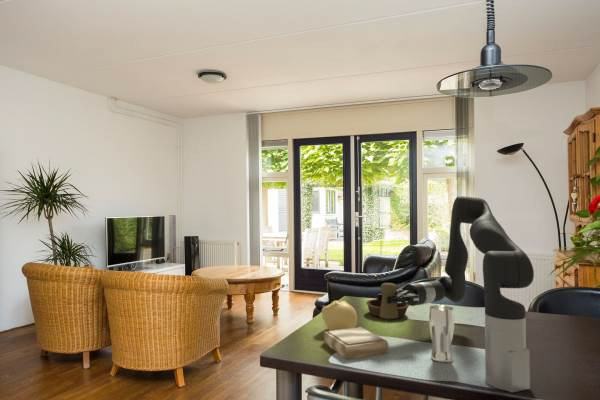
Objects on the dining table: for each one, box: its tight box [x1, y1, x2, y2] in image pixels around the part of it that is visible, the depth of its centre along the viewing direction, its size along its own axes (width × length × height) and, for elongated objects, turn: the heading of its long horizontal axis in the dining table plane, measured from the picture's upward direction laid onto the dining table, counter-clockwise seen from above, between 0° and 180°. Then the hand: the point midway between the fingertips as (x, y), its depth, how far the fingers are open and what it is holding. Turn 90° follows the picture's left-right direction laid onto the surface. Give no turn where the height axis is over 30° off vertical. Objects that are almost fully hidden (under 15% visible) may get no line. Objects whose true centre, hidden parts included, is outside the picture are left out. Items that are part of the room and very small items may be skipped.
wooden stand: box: [323, 326, 389, 360], centre depth 133 cm, size 16×14×4 cm
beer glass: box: [428, 304, 455, 363], centre depth 123 cm, size 7×7×15 cm
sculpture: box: [321, 300, 358, 331], centre depth 151 cm, size 12×12×11 cm
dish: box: [365, 298, 410, 319], centre depth 175 cm, size 18×22×5 cm
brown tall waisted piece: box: [379, 282, 399, 320], centre depth 140 cm, size 6×6×11 cm
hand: (382, 299), depth 139 cm, fingers closed on brown tall waisted piece, 4 cm apart
